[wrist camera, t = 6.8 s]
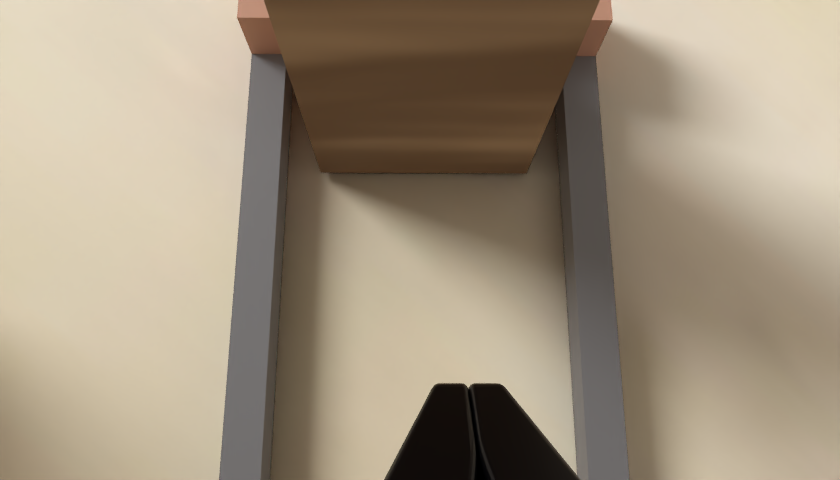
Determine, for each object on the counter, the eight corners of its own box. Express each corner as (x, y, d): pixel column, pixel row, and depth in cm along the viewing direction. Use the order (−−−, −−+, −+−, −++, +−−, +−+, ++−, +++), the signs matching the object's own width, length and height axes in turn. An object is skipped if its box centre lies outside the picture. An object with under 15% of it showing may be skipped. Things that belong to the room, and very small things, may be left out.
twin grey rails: (628, 654, 17) (673, 696, 14) (218, 655, 17) (179, 699, 14) (580, 9, 22) (606, -56, 19) (265, 7, 22) (243, -59, 19)
